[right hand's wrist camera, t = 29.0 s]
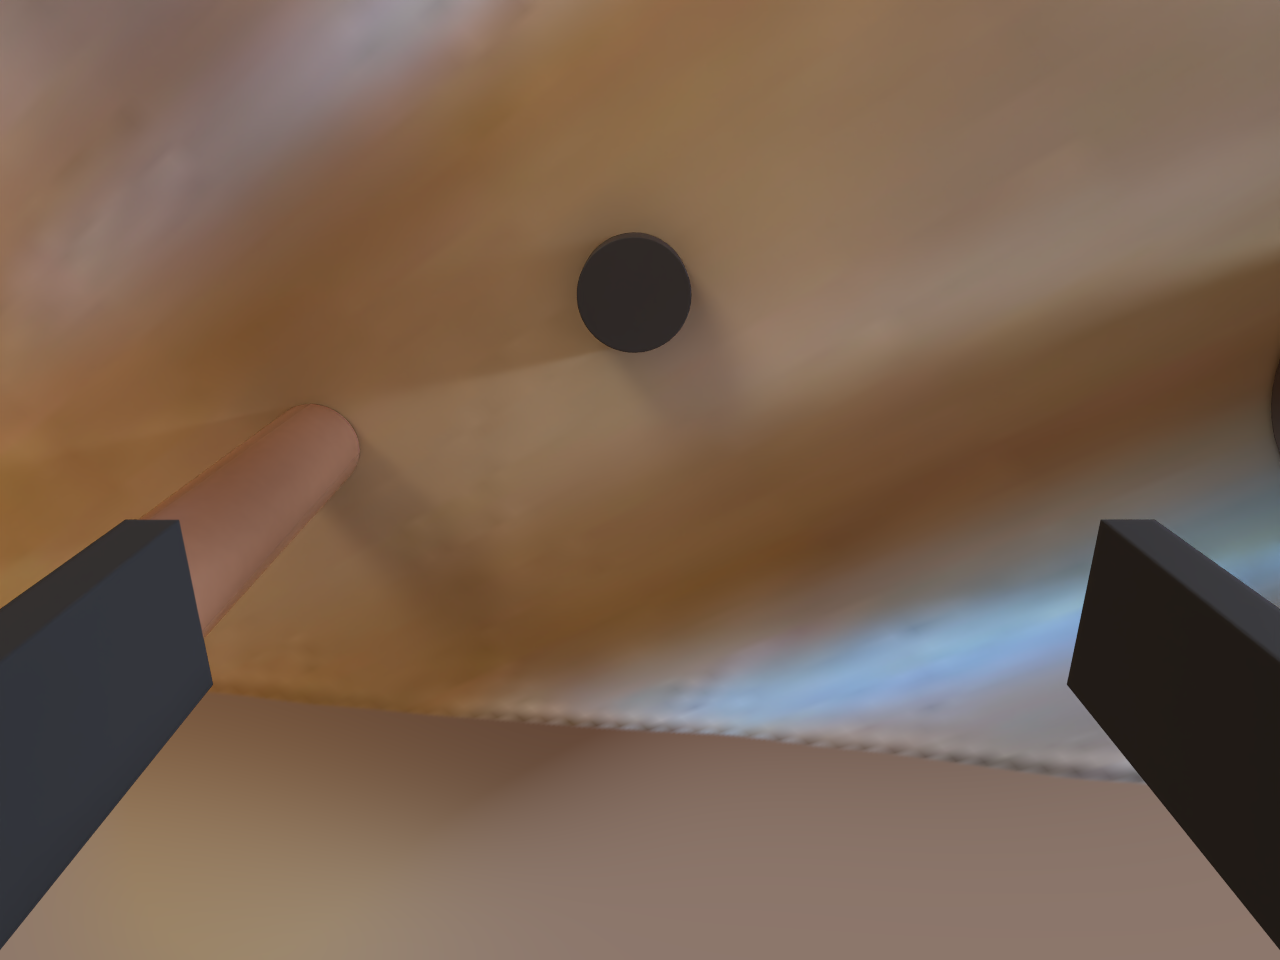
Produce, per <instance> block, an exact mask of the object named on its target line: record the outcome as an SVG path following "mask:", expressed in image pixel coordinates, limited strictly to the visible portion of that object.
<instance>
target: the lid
mask: <svg viewBox="0 0 1280 960" xmlns="http://www.w3.org/2000/svg"><path fill="white" fill-rule="evenodd" d="M577 303H578V308H579V312H580V315H581V317H582V320H583V321H584V323H585V325H586V327H587V328H588V329H589V331H590V332H591V333H592V334H593V335H594V336H595V337H596V338H597V339H598V340H599V341H601V342H602V343H604V344H605V345H607V346H609V347H611V348H613V349H616V350H619V351H624V352H635V353H636V352H645V351H649V350H652V349H655V348H658V347H659V346H661V345H663V344H665V343H666V342H668V341H669V340H670V339H671V338H672V337H674V336H675V335H676V333H677V332H678V331H679V330H680V329H681V327H682V325H683V324H684V322H685V320H686V318H687V315H688V312H689V309H690V304H691V286H690V281H689V277H688V274H687V272H686V269H685V266H684V264H683V262H682V260H681V259H680V257H679V256H678V254H677V253H676V252H675V251H674V250H673V249H672V248H671V247H670V246H669V245H668V244H667V243H665V242H664V241H662V240H661V239H659V238H656V237H654V236H651V235H648V234H643V233H625V234H620V235H617V236H614V237H612V238H610V239H608V240H606V241H605V242H603V243H602V244H601V245H599V246H598V247H597V248H596V249H595V250H594V251H593V253H592V254H591V255H590V256H589V258H588V260H587V261H586V263H585V265H584V267H583V270H582V272H581V274H580V277H579V281H578V286H577Z"/></svg>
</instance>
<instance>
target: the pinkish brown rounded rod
mask: <svg viewBox="0 0 1280 960" xmlns="http://www.w3.org/2000/svg"><path fill="white" fill-rule="evenodd" d="M359 455H360V446H359V441H358V438H357V435H356V433H355V431H354V429H353V428H352V426H351V425H350V423H349V422H348V421H347V420H346V419H345V418H344V417H343V416H342V415H340V414H339V413H337V412H336V411H334V410H332V409H330V408H328V407H325V406H322V405H317V404H303V405H298V406H295V407H293V408H291V409H289V410H287V411H286V412H284V413H283V414H282V415H280V416H279V417H278V418H276V419H275V420H273V421H272V422H271V423H269V424H268V425H267V426H265V427H264V428H262V429H261V430H260V431H258V432H257V433H256V434H254V435H253V436H252V437H250V438H249V439H247V440H246V441H245V442H243V443H242V444H241V445H239V446H238V447H237V448H235V449H234V450H232V451H231V452H230V453H228V454H227V455H226V456H224V457H223V458H221V459H220V460H219V461H217V462H216V463H215V464H213V465H212V466H211V467H209V468H208V469H206V470H205V471H204V472H202V473H201V474H200V475H198V476H197V477H196V478H194V479H193V480H191V481H190V482H189V483H187V484H186V485H185V486H183V487H182V488H180V489H179V490H178V491H176V492H175V493H174V494H172V495H171V496H170V497H168V498H167V499H165V500H164V501H163V502H161V503H160V504H159V505H157V506H156V507H155V508H153V509H152V510H150V511H149V512H148V513H146V514H145V515H144V516H142V517H141V518H139V519H138V520H179V521H180V526H181V531H182V536H183V541H184V546H185V551H186V555H187V560H188V565H189V570H190V575H191V580H192V585H193V589H194V594H195V599H196V604H197V609H198V614H199V619H200V624H201V628H202V633H203V638H205V637H206V636H207V635H208V634H209V633H210V631H211V630H212V629H213V628H214V627H215V626H216V625H217V624H218V622H219V621H220V620H221V619H222V618H223V617H224V616H225V615H226V614H227V612H228V611H229V610H230V609H231V608H232V607H233V606H234V605H235V604H236V602H237V601H238V600H239V599H240V598H241V597H242V596H243V595H244V593H245V592H246V591H247V590H248V589H249V588H250V587H251V586H252V585H253V583H254V582H255V581H256V580H257V579H258V578H259V577H260V576H261V575H262V573H263V572H264V571H265V570H266V569H267V568H268V567H269V566H270V564H271V563H272V562H273V561H274V560H275V559H276V558H277V557H278V556H279V554H280V553H281V552H282V551H283V550H284V549H285V548H286V547H287V546H288V544H289V543H290V542H291V541H292V540H293V539H294V538H295V537H296V535H297V534H298V533H299V532H300V531H301V530H302V529H303V528H304V527H305V525H306V524H307V523H308V522H309V521H310V520H311V519H312V518H313V517H314V515H315V514H316V513H317V512H318V511H319V510H320V509H321V508H322V506H323V505H324V504H325V503H326V502H327V501H328V500H329V499H330V498H331V496H332V495H333V494H334V493H335V492H336V491H337V490H338V489H339V488H340V486H341V485H342V484H343V483H344V482H345V481H346V480H347V479H348V477H349V476H350V475H351V474H352V473H353V472H354V470H355V468H356V466H357V464H358V461H359Z"/></svg>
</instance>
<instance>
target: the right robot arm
mask: <svg viewBox="0 0 1280 960" xmlns="http://www.w3.org/2000/svg"><path fill="white" fill-rule="evenodd" d="M1272 423H1273V431H1274V435H1275V439H1276V443H1277V446H1278V448H1279V451H1280V361H1279V364H1278V368H1277V371H1276V375H1275V380H1274V386H1273V393H1272ZM212 685H213V682H212V677H211V672H210V667H209V662H208V658H207V653H206V648H205V643H204V638H203V633H202V628H201V624H200V619H199V614H198V609H197V604H196V599H195V594H194V589H193V585H192V580H191V575H190V570H189V565H188V560H187V555H186V551H185V546H184V541H183V536H182V531H181V526H180V521H179V520H124V521H123V522H121V523H120V524H119V525H117V526H116V527H114V528H113V529H112V530H110V531H109V532H107V533H106V534H105V535H103V536H102V537H100V538H99V539H98V540H96V541H95V542H93V543H92V544H91V545H89V546H88V547H86V548H85V549H84V550H82V551H81V552H79V553H78V554H77V555H75V556H74V557H72V558H71V559H70V560H68V561H67V562H65V563H64V564H63V565H61V566H60V567H58V568H57V569H56V570H54V571H53V572H51V573H50V574H49V575H47V576H46V577H44V578H43V579H42V580H40V581H39V582H37V583H36V584H35V585H33V586H32V587H30V588H29V589H28V590H26V591H25V592H23V593H22V594H21V595H19V596H18V597H16V598H15V599H14V600H12V601H11V602H9V603H8V604H7V605H5V606H4V607H2V608H1V609H0V949H1V948H2V947H3V946H4V944H5V943H6V942H7V941H8V939H9V938H10V937H11V936H12V934H13V933H14V932H15V931H16V929H17V928H18V927H19V926H20V924H21V923H22V922H23V921H24V919H25V918H26V917H27V916H28V914H29V913H30V912H31V911H32V909H33V908H34V907H35V906H36V904H37V903H38V902H39V901H40V900H41V898H42V897H43V896H44V895H45V893H46V892H47V891H48V890H49V888H50V887H51V886H52V885H53V883H54V882H55V881H56V880H57V878H58V877H59V876H60V875H61V873H62V872H63V871H64V870H65V868H66V867H67V866H68V865H69V863H70V862H71V861H72V860H73V858H74V857H75V856H76V855H77V853H78V852H79V851H80V850H81V848H82V847H83V846H84V845H85V843H86V842H87V841H88V840H89V838H90V837H91V836H92V835H93V833H94V832H95V831H96V830H97V829H98V827H99V826H100V825H101V823H102V822H103V821H104V820H105V819H106V817H107V816H108V815H109V813H110V812H111V811H112V810H113V809H114V807H115V806H116V805H117V804H118V802H119V801H120V800H121V799H122V797H123V796H124V795H125V794H126V792H127V791H128V790H129V789H130V787H131V786H132V785H133V784H134V782H135V781H136V780H137V779H138V777H139V776H140V775H141V774H142V772H143V771H144V770H145V769H146V767H147V766H148V765H149V764H150V762H151V761H152V760H153V759H154V757H155V756H156V755H157V754H158V752H159V751H160V750H161V749H162V747H163V746H164V745H165V744H166V743H167V741H168V740H169V739H170V738H171V736H172V735H173V734H174V733H175V731H176V730H177V729H178V728H179V726H180V725H181V724H182V723H183V721H184V720H185V719H186V718H187V716H188V715H189V714H190V713H191V711H192V710H193V709H194V708H195V706H196V705H197V704H198V703H199V701H200V700H201V699H202V698H203V696H204V695H205V694H206V693H207V691H208V690H209V689H210V688H211V686H212ZM1067 685H1068V686H1069V688H1070V689H1071V690H1072V691H1073V693H1074V694H1075V695H1076V696H1077V698H1078V699H1079V700H1080V701H1081V703H1082V704H1083V705H1084V706H1085V708H1086V709H1087V710H1088V711H1089V713H1090V714H1091V715H1092V716H1093V718H1094V719H1095V720H1096V721H1097V723H1098V724H1099V725H1100V726H1101V728H1102V729H1103V730H1104V731H1105V733H1106V734H1107V735H1108V736H1109V738H1110V739H1111V740H1112V741H1113V743H1114V744H1115V745H1116V746H1117V747H1118V749H1119V750H1120V751H1121V752H1122V754H1123V755H1124V756H1125V757H1126V759H1127V760H1128V761H1129V762H1130V764H1131V765H1132V766H1133V767H1134V769H1135V770H1136V771H1137V772H1138V774H1139V775H1140V776H1141V777H1142V779H1143V780H1144V781H1145V782H1146V784H1147V785H1148V786H1149V787H1150V789H1151V790H1152V791H1153V792H1154V794H1155V795H1156V796H1157V797H1158V799H1159V800H1160V801H1161V802H1162V804H1163V805H1164V806H1165V807H1166V809H1167V810H1168V811H1169V812H1170V814H1171V815H1172V816H1173V817H1174V819H1175V820H1176V821H1177V822H1178V823H1179V825H1180V826H1181V827H1182V828H1183V830H1184V831H1185V832H1186V833H1187V835H1188V836H1189V837H1190V838H1191V840H1192V841H1193V842H1194V843H1195V845H1196V846H1197V847H1198V848H1199V850H1200V851H1201V852H1202V853H1203V855H1204V856H1205V857H1206V858H1207V860H1208V861H1209V862H1210V863H1211V865H1212V866H1213V867H1214V868H1215V870H1216V871H1217V872H1218V873H1219V875H1220V876H1221V877H1222V878H1223V880H1224V881H1225V882H1226V883H1227V885H1228V886H1229V887H1230V888H1231V890H1232V891H1233V892H1234V893H1235V895H1236V896H1237V897H1238V898H1239V900H1240V901H1241V902H1242V903H1243V905H1244V906H1245V907H1246V908H1247V910H1248V911H1249V912H1250V913H1251V914H1252V916H1253V917H1254V918H1255V919H1256V921H1257V922H1258V923H1259V924H1260V926H1261V927H1262V928H1263V929H1264V931H1265V932H1266V933H1267V934H1268V936H1269V937H1270V938H1271V939H1272V941H1273V942H1274V943H1275V944H1276V946H1277V947H1278V948H1279V949H1280V609H1279V608H1278V607H1276V606H1275V605H1273V604H1272V603H1271V602H1269V601H1268V600H1266V599H1265V598H1264V597H1262V596H1261V595H1259V594H1258V593H1257V592H1255V591H1254V590H1252V589H1251V588H1250V587H1248V586H1247V585H1245V584H1244V583H1243V582H1241V581H1240V580H1238V579H1237V578H1236V577H1234V576H1233V575H1231V574H1230V573H1229V572H1227V571H1226V570H1224V569H1223V568H1222V567H1220V566H1219V565H1217V564H1216V563H1215V562H1213V561H1212V560H1210V559H1209V558H1208V557H1206V556H1205V555H1203V554H1202V553H1201V552H1199V551H1198V550H1196V549H1195V548H1194V547H1192V546H1191V545H1189V544H1188V543H1187V542H1185V541H1184V540H1182V539H1181V538H1180V537H1178V536H1177V535H1175V534H1174V533H1173V532H1171V531H1170V530H1168V529H1167V528H1166V527H1164V526H1163V525H1161V524H1160V523H1159V522H1157V521H1156V520H1101V521H1100V526H1099V531H1098V536H1097V541H1096V546H1095V551H1094V555H1093V560H1092V565H1091V570H1090V575H1089V580H1088V585H1087V589H1086V594H1085V599H1084V604H1083V609H1082V614H1081V619H1080V624H1079V628H1078V633H1077V638H1076V643H1075V648H1074V653H1073V658H1072V662H1071V667H1070V672H1069V677H1068V682H1067Z"/></svg>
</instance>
